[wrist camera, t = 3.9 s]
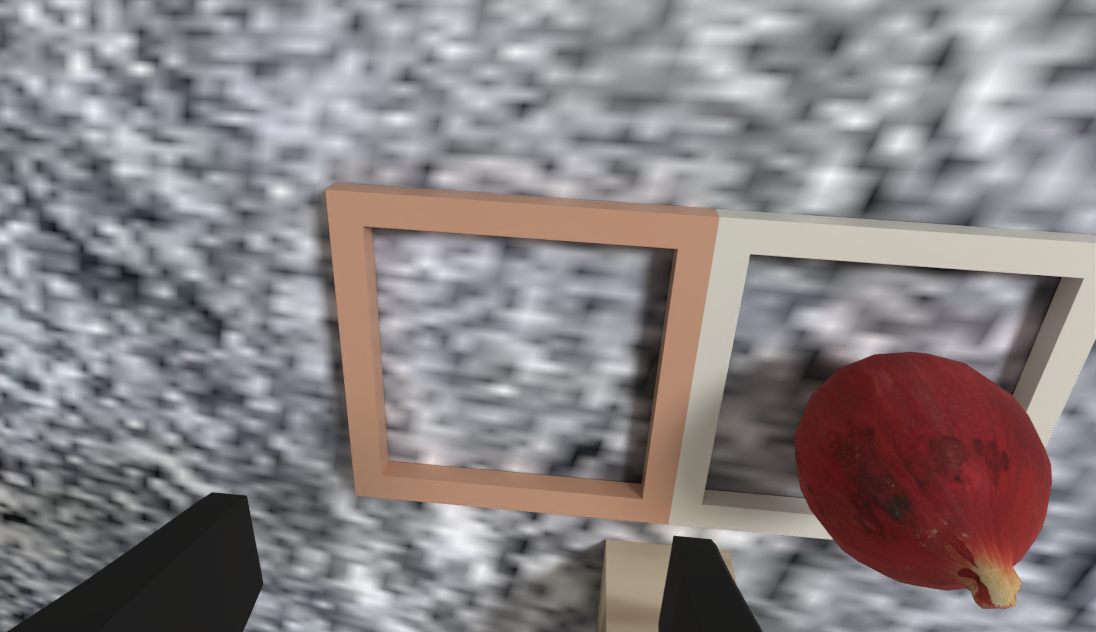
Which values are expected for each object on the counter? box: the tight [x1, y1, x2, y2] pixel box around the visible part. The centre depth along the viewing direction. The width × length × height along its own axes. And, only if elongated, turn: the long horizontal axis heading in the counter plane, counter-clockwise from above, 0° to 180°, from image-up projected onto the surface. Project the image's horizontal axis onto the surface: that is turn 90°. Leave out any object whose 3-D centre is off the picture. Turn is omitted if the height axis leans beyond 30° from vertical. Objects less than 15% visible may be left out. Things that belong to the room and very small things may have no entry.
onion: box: [794, 352, 1052, 609], centre depth 17 cm, size 6×6×8 cm
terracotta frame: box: [325, 183, 720, 524], centre depth 21 cm, size 11×11×1 cm
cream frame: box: [669, 209, 1096, 540], centre depth 21 cm, size 11×11×1 cm
